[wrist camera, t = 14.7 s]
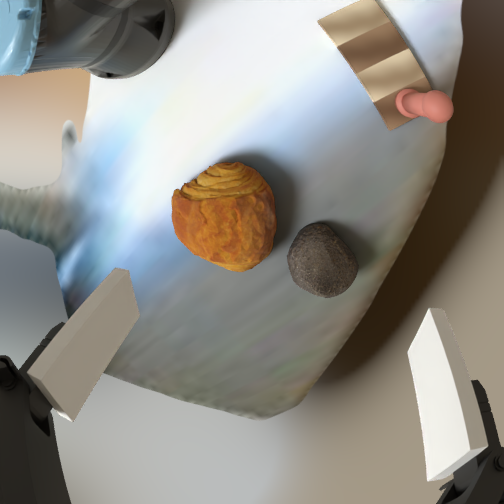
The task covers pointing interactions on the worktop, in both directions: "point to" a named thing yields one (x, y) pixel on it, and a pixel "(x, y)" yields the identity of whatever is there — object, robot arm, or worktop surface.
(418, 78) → the track
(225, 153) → the worktop surface
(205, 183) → the croissant
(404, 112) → the pawn
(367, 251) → the worktop surface
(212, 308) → the worktop surface
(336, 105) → the worktop surface
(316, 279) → the stone
